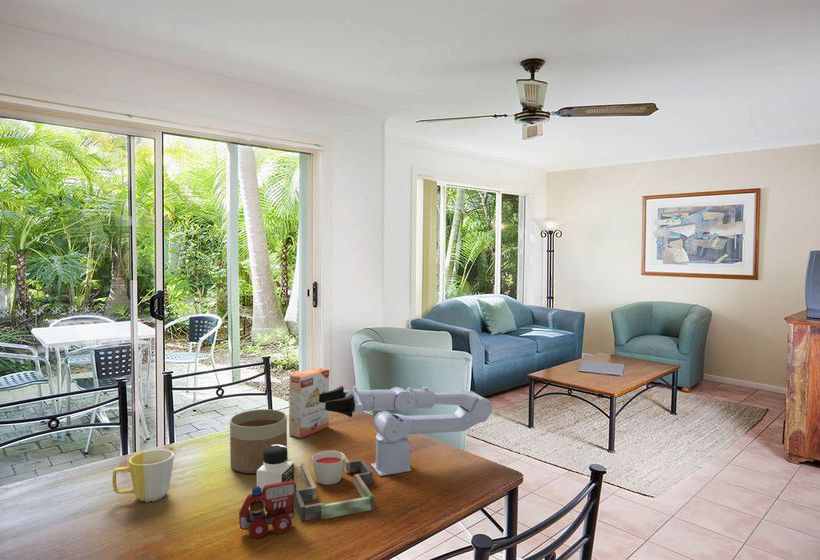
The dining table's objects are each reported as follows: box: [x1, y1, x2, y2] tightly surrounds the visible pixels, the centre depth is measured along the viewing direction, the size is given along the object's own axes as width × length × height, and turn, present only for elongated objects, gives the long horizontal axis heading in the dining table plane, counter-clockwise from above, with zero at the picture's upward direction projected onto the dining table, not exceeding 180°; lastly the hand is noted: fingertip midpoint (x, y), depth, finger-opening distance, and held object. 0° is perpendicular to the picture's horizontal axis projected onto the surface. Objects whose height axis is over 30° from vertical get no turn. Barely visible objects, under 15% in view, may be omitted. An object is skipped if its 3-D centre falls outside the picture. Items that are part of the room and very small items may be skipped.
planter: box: [229, 408, 288, 474], centre depth 153 cm, size 16×16×14 cm
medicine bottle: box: [256, 444, 295, 492], centre depth 135 cm, size 7×7×12 cm
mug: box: [111, 448, 175, 503], centre depth 132 cm, size 14×10×10 cm
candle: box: [311, 450, 346, 486], centre depth 143 cm, size 9×9×6 cm
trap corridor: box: [294, 456, 375, 521], centre depth 137 cm, size 22×26×3 cm
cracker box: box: [288, 367, 330, 439], centre depth 179 cm, size 14×6×21 cm, turn 147°
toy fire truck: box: [238, 480, 297, 539], centre depth 118 cm, size 7×12×10 cm, turn 112°
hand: (322, 401), depth 142 cm, fingers open, 7 cm apart
